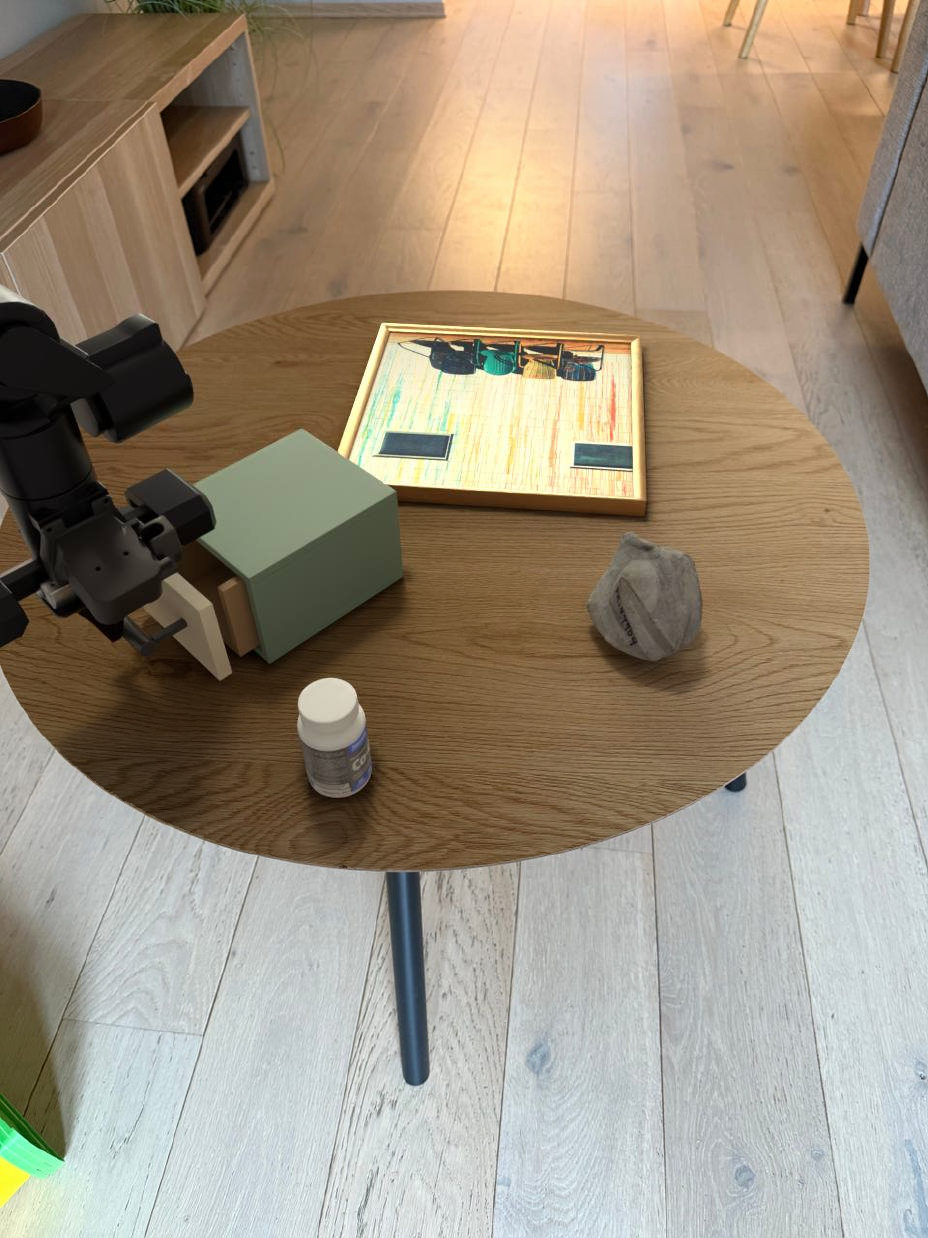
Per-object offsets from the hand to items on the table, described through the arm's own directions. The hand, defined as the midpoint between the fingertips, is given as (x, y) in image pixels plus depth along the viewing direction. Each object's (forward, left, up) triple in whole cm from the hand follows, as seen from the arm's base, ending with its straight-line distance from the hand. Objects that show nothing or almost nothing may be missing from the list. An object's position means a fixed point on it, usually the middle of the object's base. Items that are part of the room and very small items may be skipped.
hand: (114, 637), depth 72 cm
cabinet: (+14, +8, -5) cm, 17 cm away
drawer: (+8, +4, -4) cm, 10 cm away
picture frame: (+39, +27, -5) cm, 48 cm away
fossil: (+41, -6, -5) cm, 42 cm away
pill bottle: (+14, -13, -5) cm, 20 cm away
